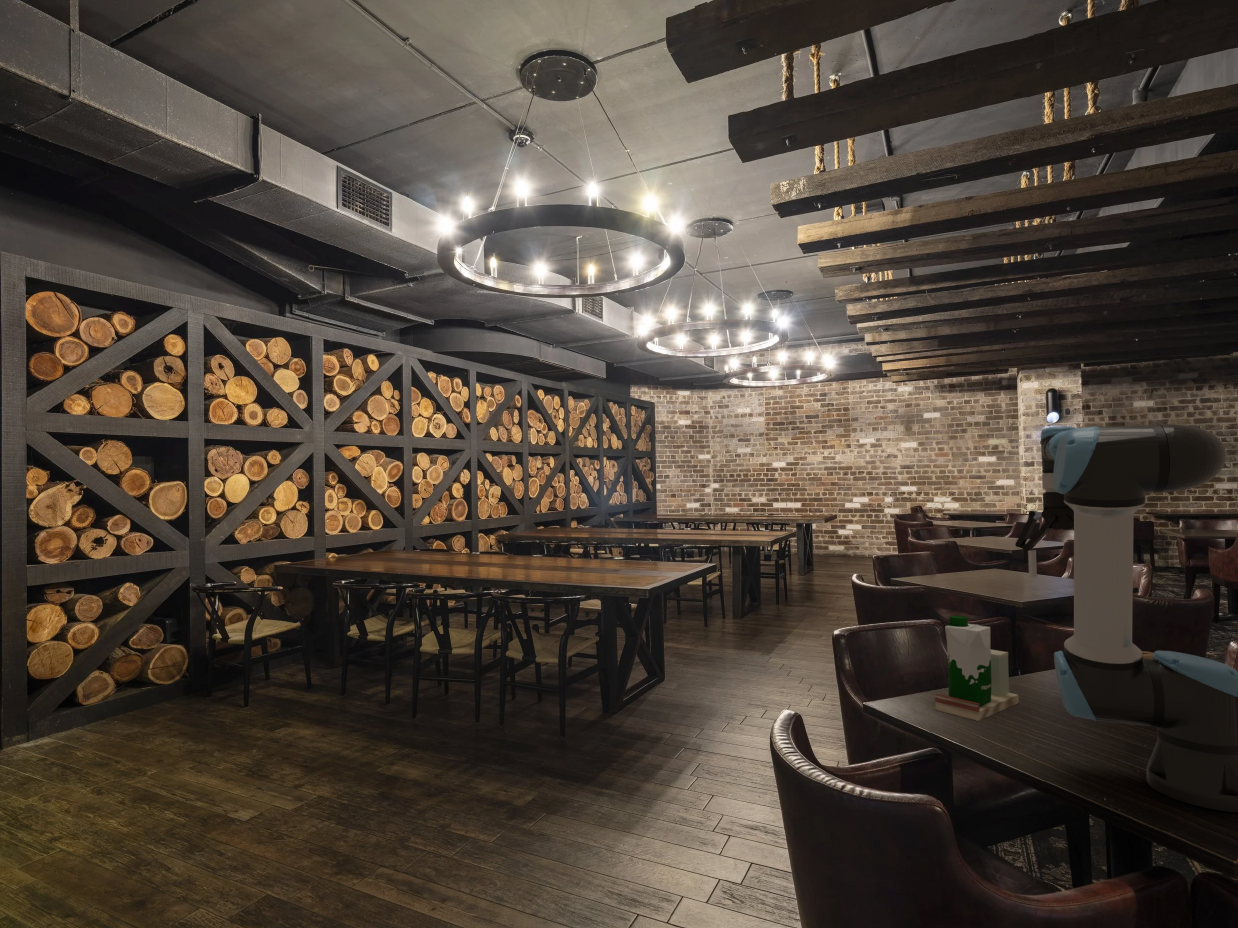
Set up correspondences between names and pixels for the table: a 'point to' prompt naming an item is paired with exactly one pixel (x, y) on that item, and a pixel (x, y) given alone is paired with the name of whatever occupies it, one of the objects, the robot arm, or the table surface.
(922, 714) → the table surface
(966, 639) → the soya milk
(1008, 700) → the shelf board
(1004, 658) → the tea tin
